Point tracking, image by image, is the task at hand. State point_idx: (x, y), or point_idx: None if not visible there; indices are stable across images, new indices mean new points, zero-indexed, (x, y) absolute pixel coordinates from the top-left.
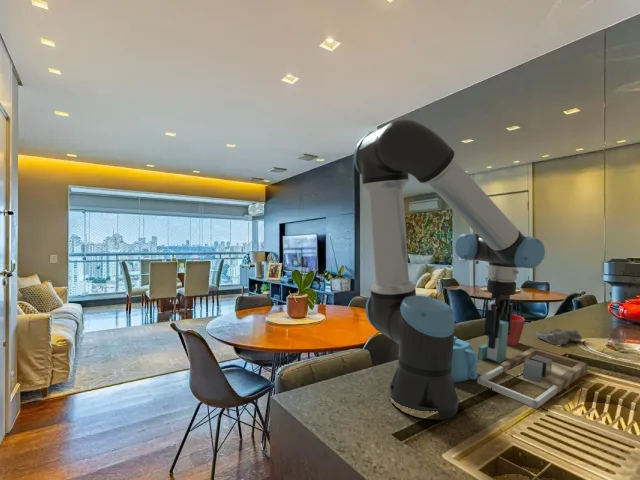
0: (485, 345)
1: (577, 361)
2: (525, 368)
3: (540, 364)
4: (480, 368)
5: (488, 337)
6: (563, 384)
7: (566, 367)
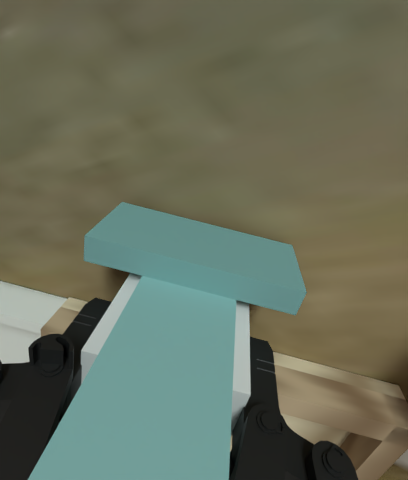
0: (158, 266)
1: None
2: None
3: None
4: (60, 227)
5: (89, 338)
6: None
7: None
